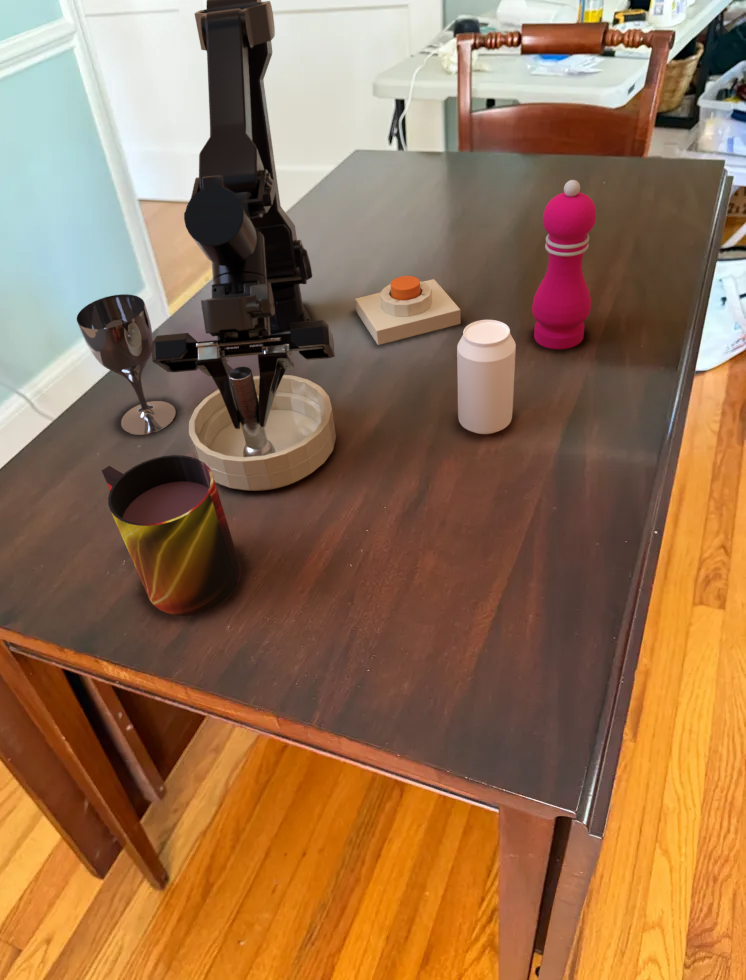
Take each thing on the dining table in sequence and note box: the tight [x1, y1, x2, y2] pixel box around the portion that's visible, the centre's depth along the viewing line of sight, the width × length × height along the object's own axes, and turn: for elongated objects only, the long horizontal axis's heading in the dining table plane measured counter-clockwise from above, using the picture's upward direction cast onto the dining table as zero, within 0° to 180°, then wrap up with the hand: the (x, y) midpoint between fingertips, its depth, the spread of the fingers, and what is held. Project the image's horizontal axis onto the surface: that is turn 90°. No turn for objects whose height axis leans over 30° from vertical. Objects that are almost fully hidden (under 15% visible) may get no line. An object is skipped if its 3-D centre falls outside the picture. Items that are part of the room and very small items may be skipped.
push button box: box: [354, 278, 462, 346], centre depth 109 cm, size 10×12×4 cm
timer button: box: [390, 275, 421, 300], centre depth 107 cm, size 4×4×2 cm
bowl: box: [188, 374, 337, 492], centre depth 91 cm, size 16×17×5 cm
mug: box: [101, 454, 242, 616], centre depth 75 cm, size 10×14×12 cm
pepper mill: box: [531, 179, 597, 350], centre depth 95 cm, size 7×7×20 cm
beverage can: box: [456, 319, 517, 435], centre depth 87 cm, size 6×6×12 cm
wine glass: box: [76, 293, 177, 436], centre depth 95 cm, size 8×8×15 cm
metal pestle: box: [229, 366, 275, 457], centre depth 84 cm, size 4×4×12 cm
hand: (249, 427), depth 83 cm, fingers closed on metal pestle, 2 cm apart
